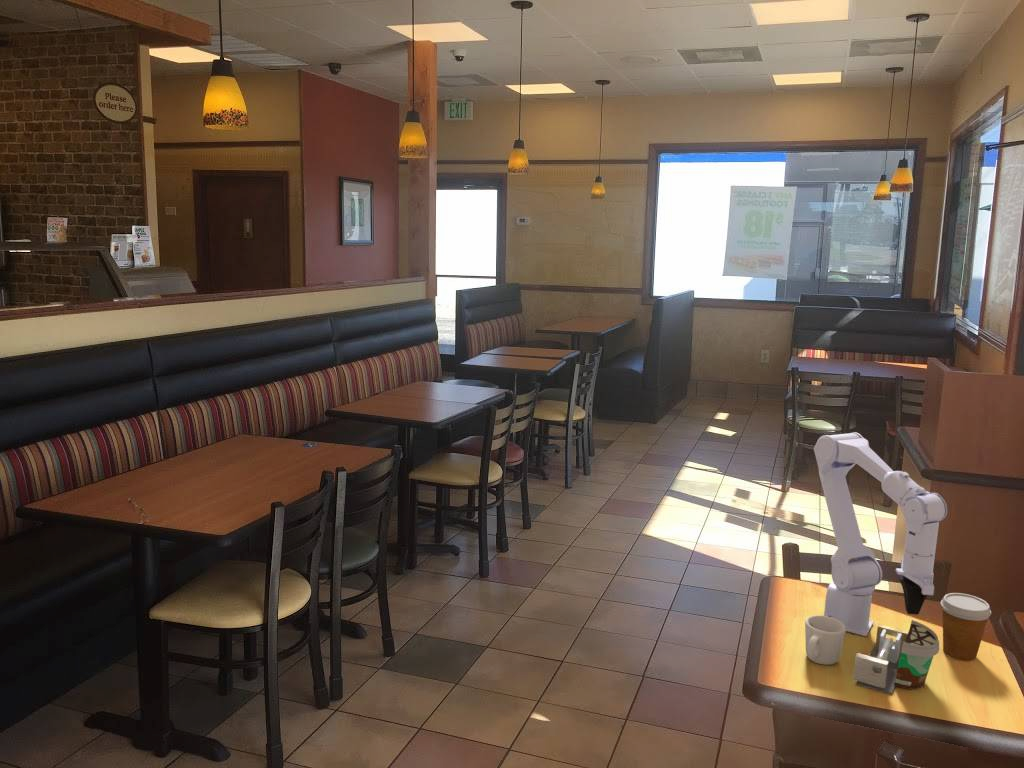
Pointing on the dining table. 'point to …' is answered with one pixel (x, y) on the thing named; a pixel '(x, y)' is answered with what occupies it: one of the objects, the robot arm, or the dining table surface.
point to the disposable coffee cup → (963, 625)
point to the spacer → (891, 632)
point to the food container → (916, 656)
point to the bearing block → (895, 649)
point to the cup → (824, 639)
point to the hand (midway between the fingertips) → (912, 612)
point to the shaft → (873, 666)
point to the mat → (890, 676)
